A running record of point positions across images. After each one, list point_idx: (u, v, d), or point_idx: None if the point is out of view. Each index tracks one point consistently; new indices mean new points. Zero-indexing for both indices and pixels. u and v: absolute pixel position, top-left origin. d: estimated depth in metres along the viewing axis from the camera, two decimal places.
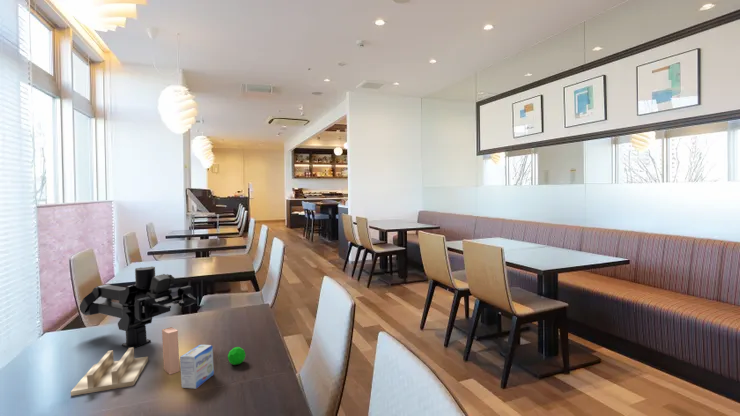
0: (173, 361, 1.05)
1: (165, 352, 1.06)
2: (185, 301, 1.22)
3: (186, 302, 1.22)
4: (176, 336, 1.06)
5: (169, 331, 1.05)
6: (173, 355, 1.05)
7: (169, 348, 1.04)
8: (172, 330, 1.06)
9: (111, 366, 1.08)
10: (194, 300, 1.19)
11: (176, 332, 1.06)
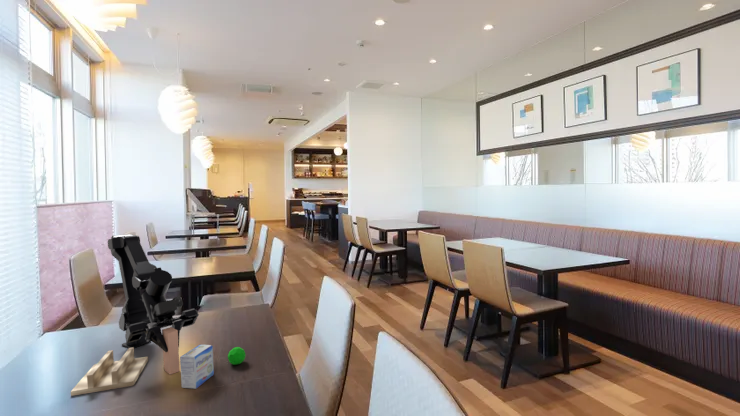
0: (173, 361, 1.05)
1: (165, 352, 1.06)
2: None
3: None
4: (176, 336, 1.06)
5: (169, 331, 1.05)
6: (173, 355, 1.05)
7: (169, 348, 1.04)
8: (172, 330, 1.06)
9: (111, 366, 1.08)
10: None
11: (176, 332, 1.06)
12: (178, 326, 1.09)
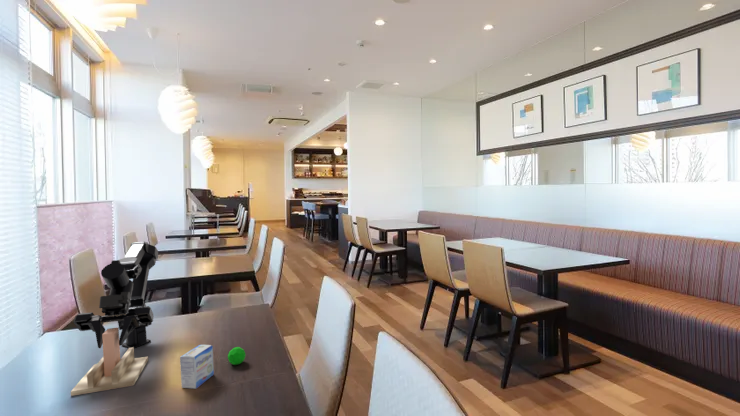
0: (108, 364, 1.02)
1: None
2: None
3: None
4: (112, 338, 1.02)
5: (107, 332, 1.02)
6: (108, 357, 1.02)
7: (104, 349, 1.01)
8: (110, 331, 1.03)
9: None
10: None
11: (111, 334, 1.02)
12: (127, 322, 1.06)
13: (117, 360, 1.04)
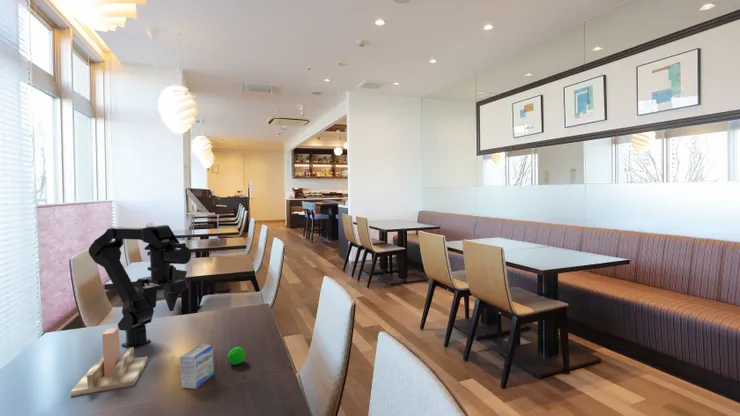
0: (108, 364, 1.02)
1: None
2: (149, 291, 1.24)
3: (148, 294, 1.24)
4: (111, 338, 1.02)
5: (107, 332, 1.02)
6: (108, 357, 1.02)
7: (104, 349, 1.01)
8: (110, 331, 1.03)
9: None
10: (154, 306, 1.25)
11: (111, 334, 1.02)
12: None
13: (117, 360, 1.04)
